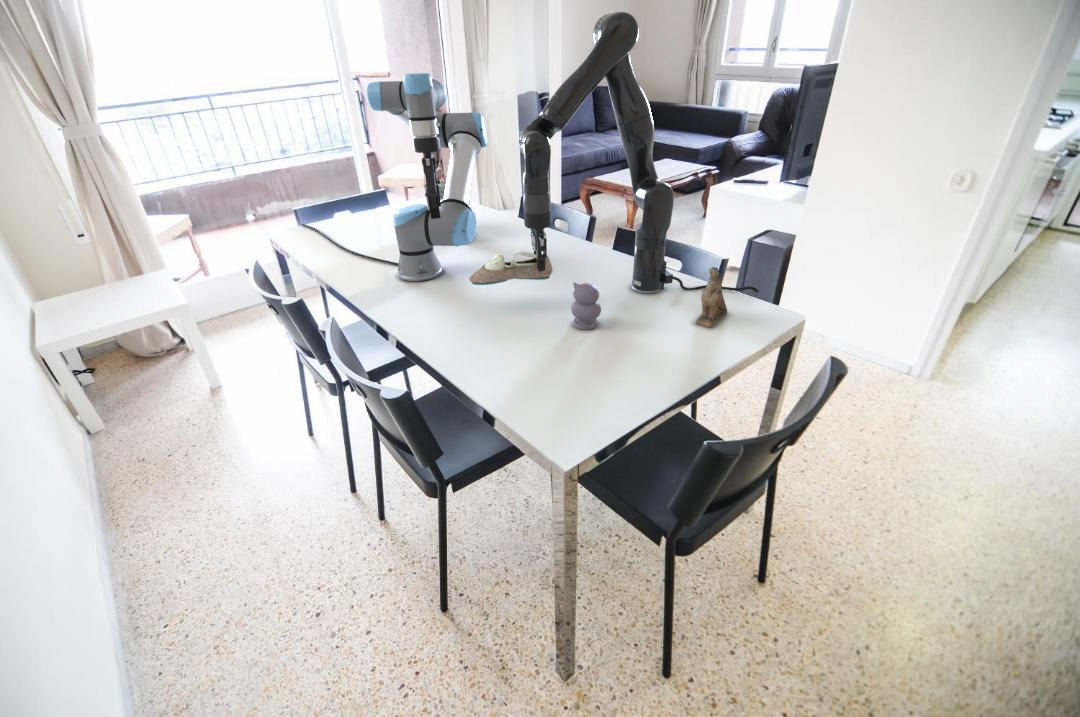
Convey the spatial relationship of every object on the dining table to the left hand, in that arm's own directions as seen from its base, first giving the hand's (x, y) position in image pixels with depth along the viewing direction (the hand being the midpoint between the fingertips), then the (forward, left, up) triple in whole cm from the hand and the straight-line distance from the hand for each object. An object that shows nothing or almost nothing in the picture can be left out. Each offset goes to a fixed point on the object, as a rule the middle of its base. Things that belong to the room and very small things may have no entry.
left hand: (436, 212), depth 151 cm
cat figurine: (+51, -11, -25) cm, 58 cm away
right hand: (+34, -2, -13) cm, 36 cm away
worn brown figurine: (+83, +3, -25) cm, 87 cm away
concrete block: (-27, +52, -25) cm, 64 cm away
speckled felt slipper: (+26, -5, -17) cm, 31 cm away
